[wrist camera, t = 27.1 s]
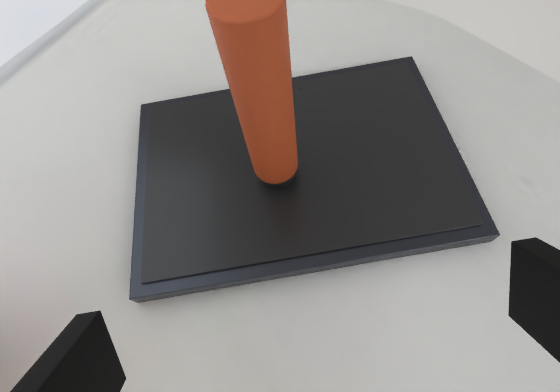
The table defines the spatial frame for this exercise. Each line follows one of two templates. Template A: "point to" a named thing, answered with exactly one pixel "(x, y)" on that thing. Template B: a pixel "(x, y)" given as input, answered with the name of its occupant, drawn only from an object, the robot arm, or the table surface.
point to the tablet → (299, 185)
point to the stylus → (259, 81)
